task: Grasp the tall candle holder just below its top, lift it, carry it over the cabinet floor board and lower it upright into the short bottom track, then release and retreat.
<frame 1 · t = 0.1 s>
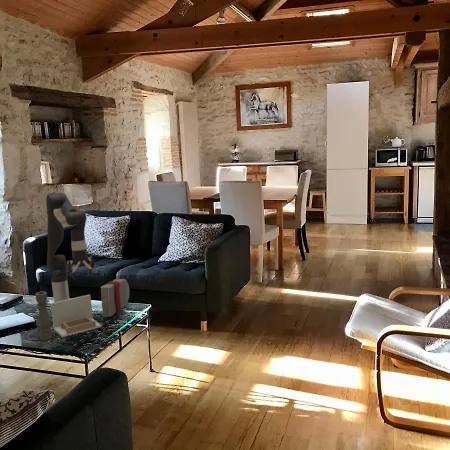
hand: (82, 277, 277), 29 cm above the table, fingers open, 8 cm apart
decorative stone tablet: (117, 311, 308), on the table
candle holder: (46, 338, 272), on the table
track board: (77, 327, 284), on the table
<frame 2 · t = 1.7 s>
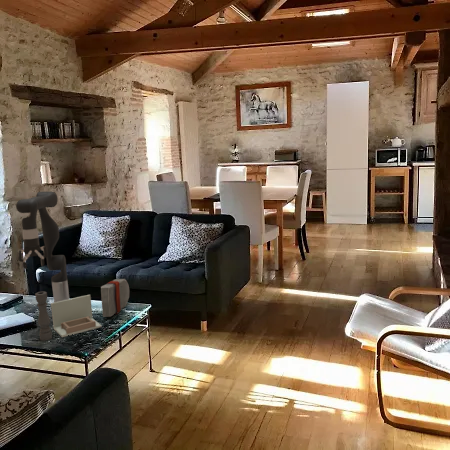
hand: (34, 267, 270), 38 cm above the table, fingers open, 8 cm apart
nothing on the table moved.
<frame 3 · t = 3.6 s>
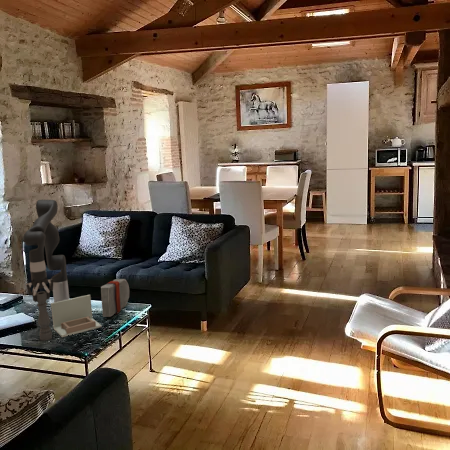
hand: (41, 300, 268), 21 cm above the table, fingers closed on candle holder, 5 cm apart
candle holder: (46, 338, 272), on the table, touching gripper
everything else where it was.
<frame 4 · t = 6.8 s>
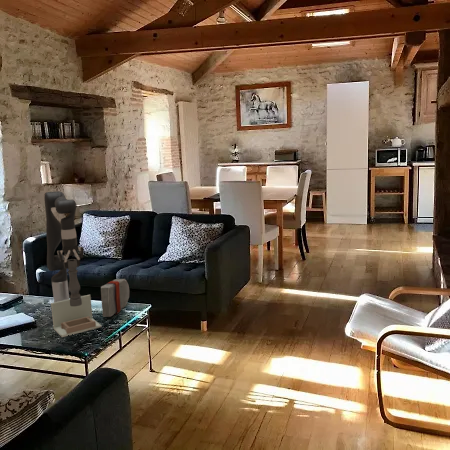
hand: (72, 267, 276), 35 cm above the table, fingers closed on candle holder, 5 cm apart
candle holder: (76, 304, 280), point 14 cm above the table, touching gripper
everything else where it was.
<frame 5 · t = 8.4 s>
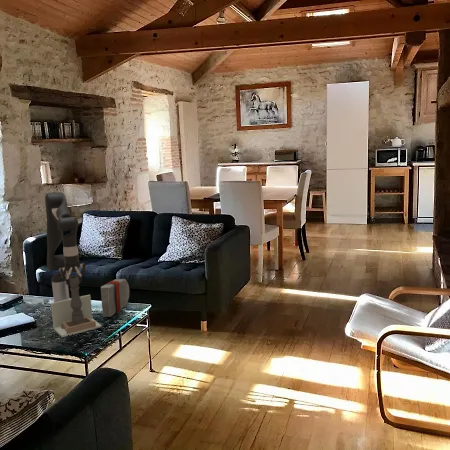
hand: (74, 284, 277), 26 cm above the table, fingers closed on candle holder, 5 cm apart
candle holder: (78, 321, 281), point 5 cm above the table, touching gripper
everything else where it was.
when the fingers open (23 cm above the table, at t = 9.9 s): candle holder drops 1 cm, resting on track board.
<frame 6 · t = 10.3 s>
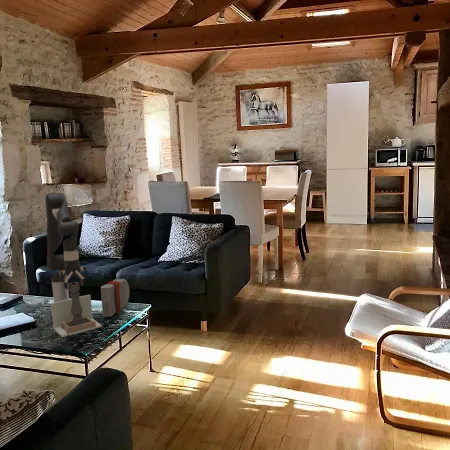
hand: (74, 287, 278), 24 cm above the table, fingers open, 8 cm apart
candle holder: (78, 327, 282), point 1 cm above the table, touching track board
everything else where it was.
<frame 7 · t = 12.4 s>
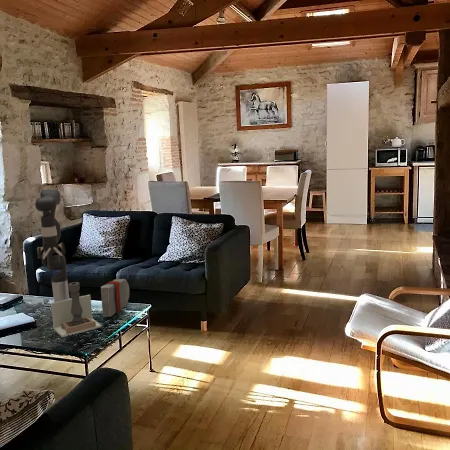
hand: (52, 263, 275), 38 cm above the table, fingers open, 8 cm apart
nothing on the table moved.
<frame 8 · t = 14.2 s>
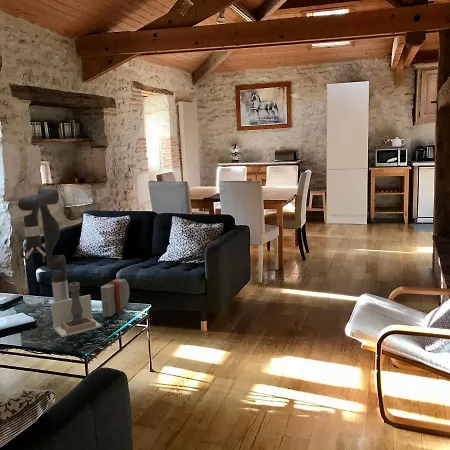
hand: (36, 263, 275), 38 cm above the table, fingers open, 8 cm apart
nothing on the table moved.
at the end: candle holder inside the target area (0.1 cm from its centre), point 0.8 cm above the table; candle holder tilted 0°; the gripper is holding nothing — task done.
